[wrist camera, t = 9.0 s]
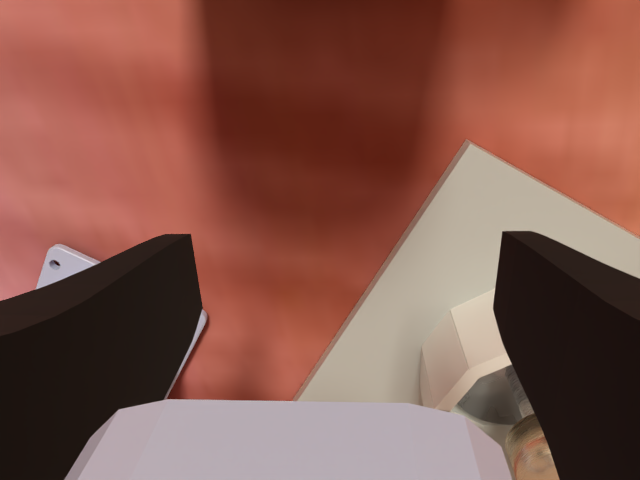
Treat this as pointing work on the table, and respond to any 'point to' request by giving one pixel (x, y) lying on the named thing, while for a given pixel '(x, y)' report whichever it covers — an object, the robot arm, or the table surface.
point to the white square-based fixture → (453, 290)
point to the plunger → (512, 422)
